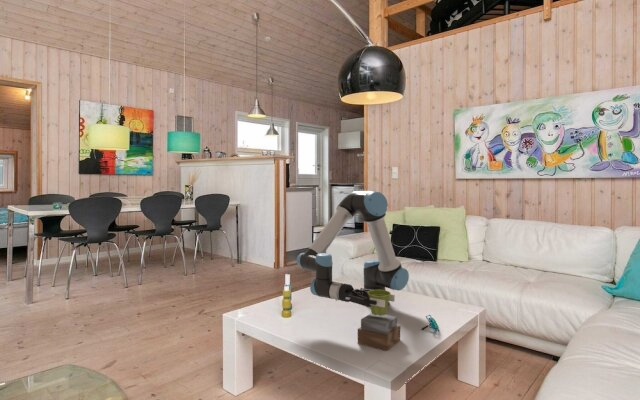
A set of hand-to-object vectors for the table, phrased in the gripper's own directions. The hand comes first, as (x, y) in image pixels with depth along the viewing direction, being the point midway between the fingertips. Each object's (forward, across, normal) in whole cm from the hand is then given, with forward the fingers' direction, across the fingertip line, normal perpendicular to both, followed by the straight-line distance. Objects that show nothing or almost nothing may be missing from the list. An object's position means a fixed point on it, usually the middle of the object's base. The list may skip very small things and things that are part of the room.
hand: (389, 301), depth 161 cm
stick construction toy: (+8, -26, -18) cm, 32 cm away
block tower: (-5, 0, -18) cm, 19 cm away
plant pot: (-5, 0, -6) cm, 8 cm away
